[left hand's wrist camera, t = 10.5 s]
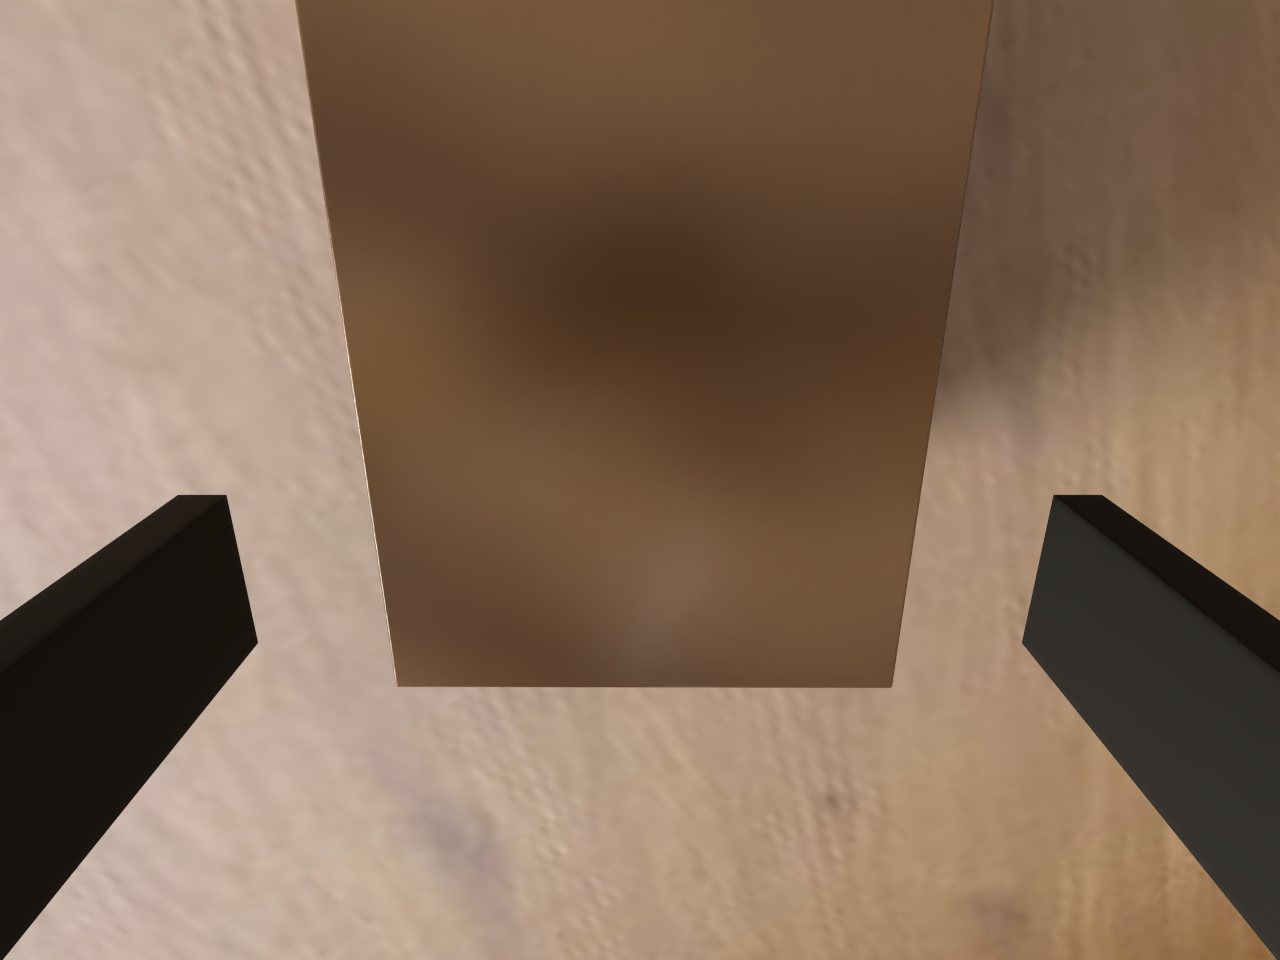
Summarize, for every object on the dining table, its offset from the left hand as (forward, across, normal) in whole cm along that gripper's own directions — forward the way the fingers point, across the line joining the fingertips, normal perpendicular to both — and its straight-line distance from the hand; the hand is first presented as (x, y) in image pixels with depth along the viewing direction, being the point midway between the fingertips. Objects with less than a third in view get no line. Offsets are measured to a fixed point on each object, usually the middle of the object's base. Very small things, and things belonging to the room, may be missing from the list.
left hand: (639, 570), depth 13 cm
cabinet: (+13, 0, -5) cm, 14 cm away
